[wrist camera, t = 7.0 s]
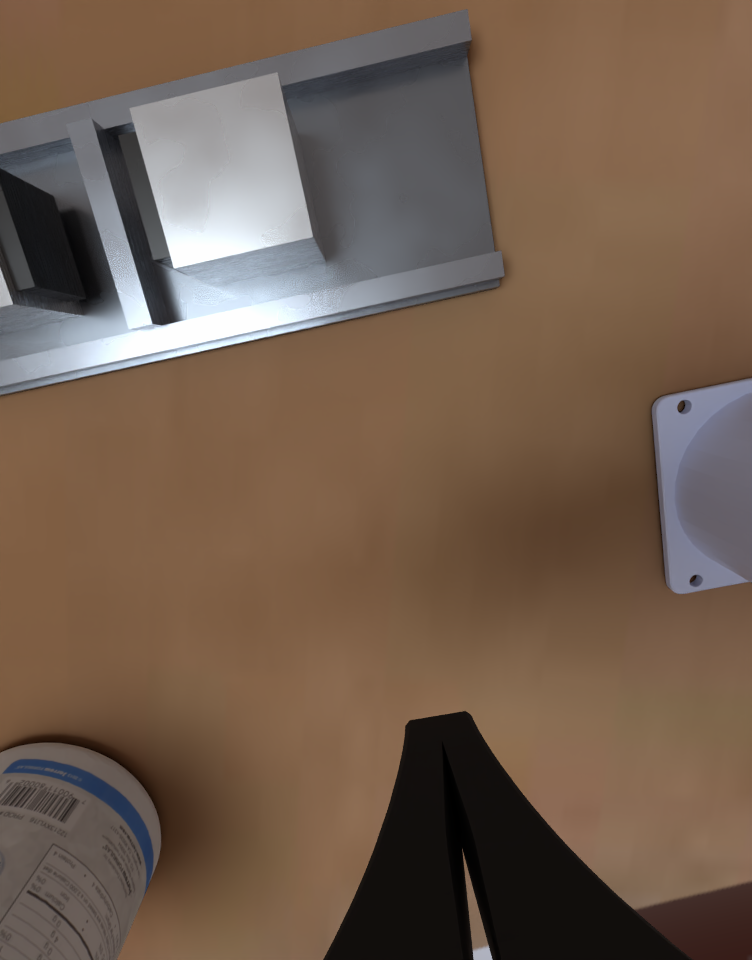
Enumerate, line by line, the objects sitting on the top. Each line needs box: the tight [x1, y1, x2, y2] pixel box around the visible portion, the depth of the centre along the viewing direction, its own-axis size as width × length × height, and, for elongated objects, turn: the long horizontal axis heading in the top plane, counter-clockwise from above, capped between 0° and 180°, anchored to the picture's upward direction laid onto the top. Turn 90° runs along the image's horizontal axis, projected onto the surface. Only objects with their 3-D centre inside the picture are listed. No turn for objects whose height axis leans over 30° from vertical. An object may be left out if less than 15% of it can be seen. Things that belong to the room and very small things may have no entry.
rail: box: [0, 9, 505, 396], centre depth 16 cm, size 20×8×4 cm, turn 102°
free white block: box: [118, 72, 326, 287], centre depth 15 cm, size 5×4×4 cm
